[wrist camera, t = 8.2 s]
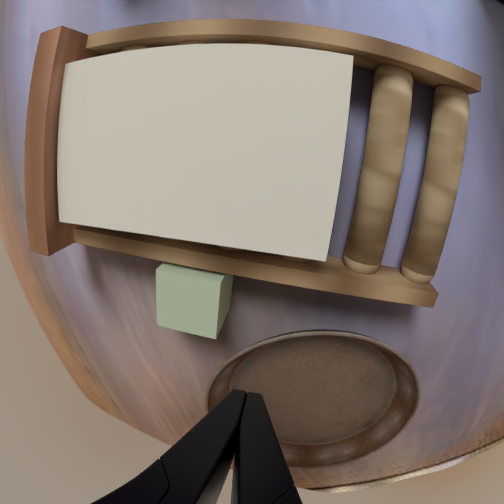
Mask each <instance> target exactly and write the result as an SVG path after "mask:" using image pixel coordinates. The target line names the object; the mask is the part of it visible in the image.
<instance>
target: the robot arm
mask: <svg viewBox="0 0 504 504" xmlns="http://www.w3.org/2000/svg"><path fill="white" fill-rule="evenodd" d="M497 1H499V2H501V3H502V4H504V0H497ZM234 455H235V457H234ZM233 458H234V466H233V480H232V495H231V504H302V501H301V499H300V497H299V494H298V492H297V489H296V486H294V481H293V479H292V476H291V473H290V471H289V468H288V465H287V463H286V460H285V457H284V455H283V452H282V449H281V446H280V444H279V441H278V438H277V435H276V433H275V430H274V427H273V424H272V421H271V419H270V416H269V413H268V410H267V407H266V404H265V401H264V399H263V396H262V394H260V393H254V392H248V393H247V392H246V391H243V390H238V389H232V390H231V391H230V392H229V393H228V394H227V395H226V396H225V397H224V398H223V399H222V400H221V401H220V402H219V403H218V404H217V405H216V406H215V407H214V408H213V409H212V410H211V411H210V412H209V413H208V414H207V415H206V416H205V417H204V418H202V419H201V420H200V421H199V422H198V423H197V424H196V425H195V426H194V427H193V428H192V429H191V430H190V431H189V432H188V433H186V434H185V435H184V436H183V437H182V438H181V439H180V440H179V441H178V442H177V443H176V444H174V445H173V446H172V447H171V448H170V449H169V450H168V451H167V452H166V453H164V454H163V455H162V456H161V457H160V459H157V460H156V461H155V462H154V463H153V464H152V465H150V466H149V467H148V468H147V469H146V470H144V471H143V472H142V473H140V474H139V475H138V476H136V477H135V478H134V479H132V480H131V481H129V482H128V483H126V484H124V485H123V486H121V487H119V488H118V489H116V490H114V491H113V492H111V493H109V494H107V495H106V496H104V497H102V498H100V499H98V500H97V501H95V502H93V503H91V504H216V502H217V499H218V497H219V495H220V492H221V490H222V487H223V485H224V482H225V480H226V477H227V475H228V472H229V469H230V467H231V464H232V461H233Z"/></svg>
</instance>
